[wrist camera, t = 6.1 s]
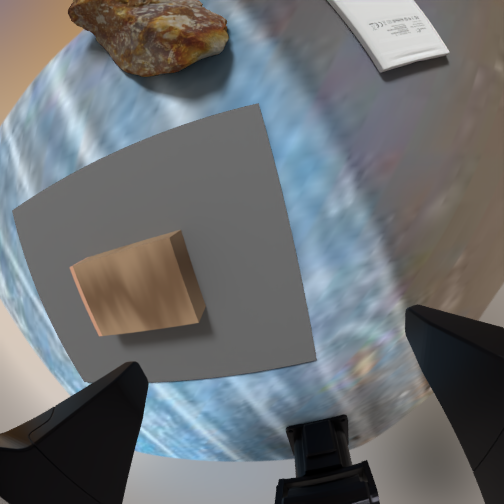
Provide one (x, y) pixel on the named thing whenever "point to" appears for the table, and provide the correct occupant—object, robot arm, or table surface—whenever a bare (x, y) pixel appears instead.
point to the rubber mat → (197, 243)
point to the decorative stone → (152, 32)
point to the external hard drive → (391, 31)
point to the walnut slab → (140, 286)
